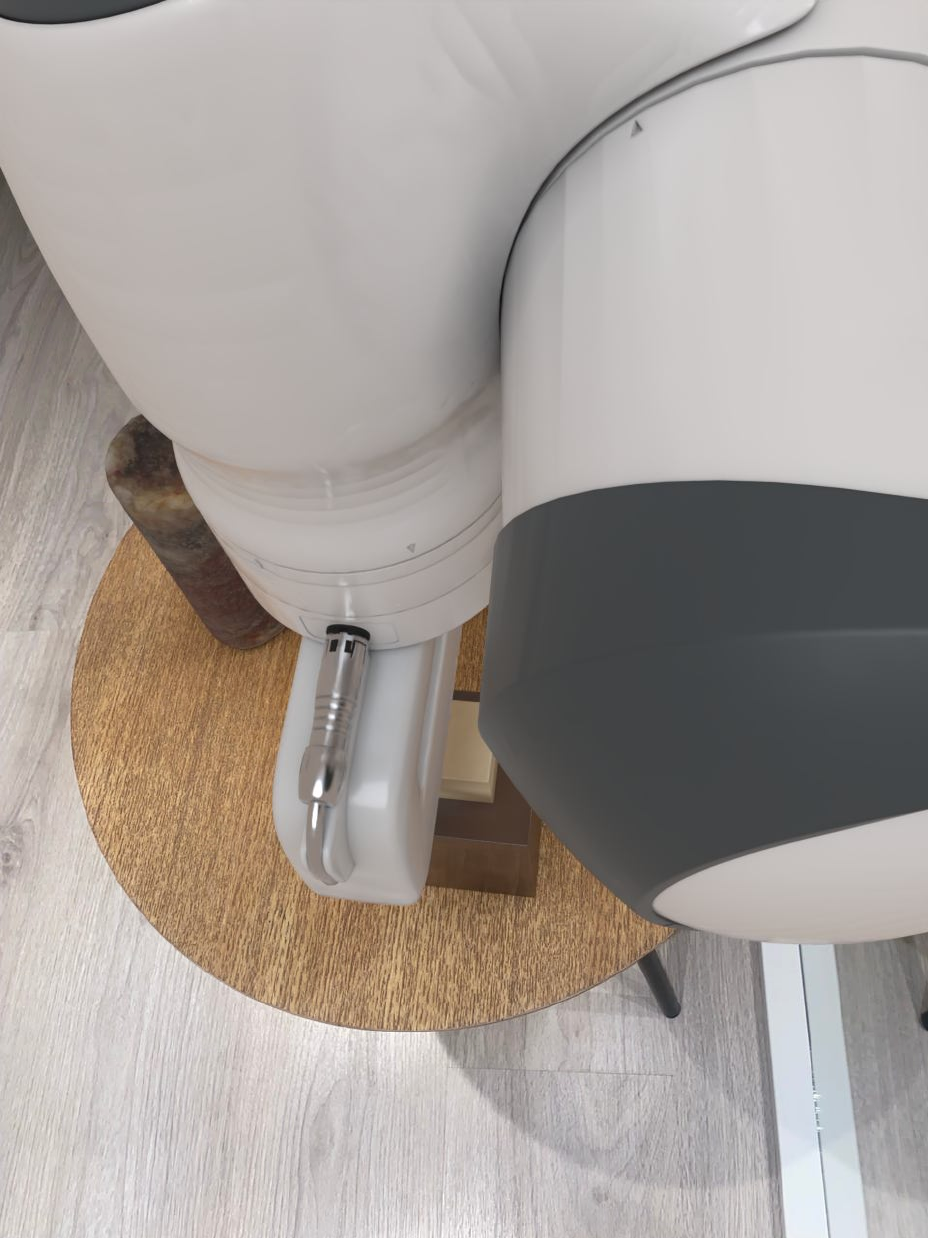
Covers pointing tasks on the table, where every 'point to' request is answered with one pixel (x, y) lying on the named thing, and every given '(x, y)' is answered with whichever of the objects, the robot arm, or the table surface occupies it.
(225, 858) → the table surface
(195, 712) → the table surface
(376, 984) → the table surface
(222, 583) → the brown cylinder
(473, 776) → the cube
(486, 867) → the stand
